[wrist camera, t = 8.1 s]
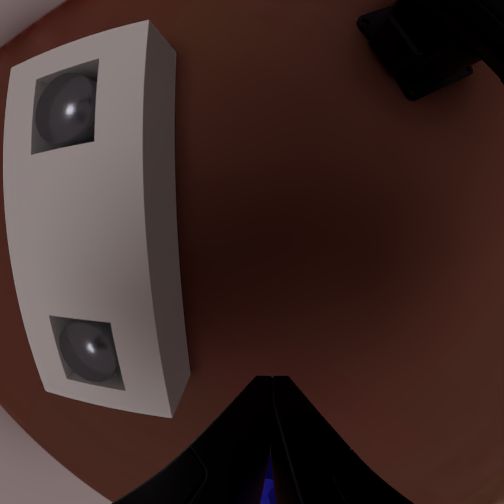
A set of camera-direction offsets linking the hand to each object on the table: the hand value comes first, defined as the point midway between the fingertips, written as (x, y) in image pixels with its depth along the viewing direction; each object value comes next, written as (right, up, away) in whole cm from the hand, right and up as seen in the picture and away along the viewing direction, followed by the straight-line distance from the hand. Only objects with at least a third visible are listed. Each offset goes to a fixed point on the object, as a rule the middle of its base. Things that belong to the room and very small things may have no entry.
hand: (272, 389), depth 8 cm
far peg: (-10, -1, +13) cm, 17 cm away
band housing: (-10, +5, +12) cm, 16 cm away
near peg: (-10, +12, +10) cm, 19 cm away
